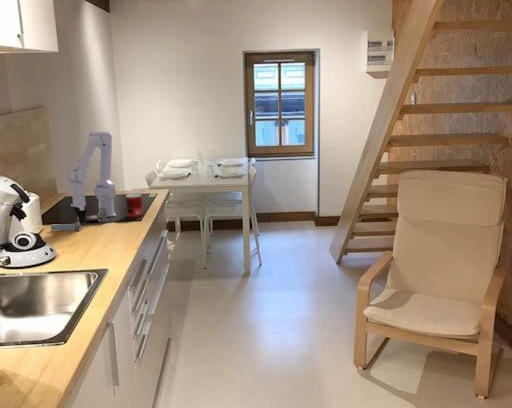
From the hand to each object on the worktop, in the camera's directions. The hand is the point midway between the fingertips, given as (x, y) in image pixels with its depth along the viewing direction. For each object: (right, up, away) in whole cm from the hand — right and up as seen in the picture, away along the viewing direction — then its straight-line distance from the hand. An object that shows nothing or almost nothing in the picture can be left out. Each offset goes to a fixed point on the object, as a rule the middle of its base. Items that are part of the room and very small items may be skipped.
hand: (81, 221), depth 258 cm
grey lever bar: (-4, -4, -10) cm, 11 cm away
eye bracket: (+10, 0, +5) cm, 11 cm away
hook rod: (+5, 0, +3) cm, 6 cm away
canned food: (+23, +2, +14) cm, 27 cm away
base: (+2, -4, -10) cm, 11 cm away
